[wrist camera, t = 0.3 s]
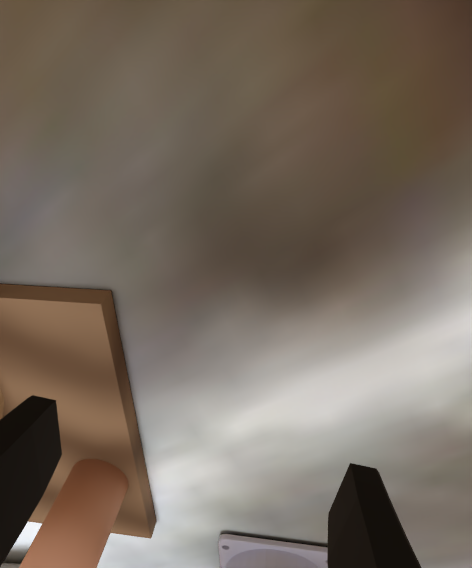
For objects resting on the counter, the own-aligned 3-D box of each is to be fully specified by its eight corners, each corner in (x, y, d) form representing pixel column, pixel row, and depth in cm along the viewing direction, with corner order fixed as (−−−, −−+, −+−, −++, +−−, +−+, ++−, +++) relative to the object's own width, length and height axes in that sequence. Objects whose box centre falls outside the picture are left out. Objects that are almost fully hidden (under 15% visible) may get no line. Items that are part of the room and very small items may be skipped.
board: (156, 521, 31) (151, 538, 30) (-61, 492, 33) (-73, 507, 32) (111, 290, 21) (100, 304, 20) (-192, 272, 23) (-215, 284, 22)
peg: (132, 499, 27) (83, 630, 22) (78, 492, 28) (16, 618, 22) (123, 462, 26) (67, 594, 20) (66, 455, 26) (-6, 582, 20)
